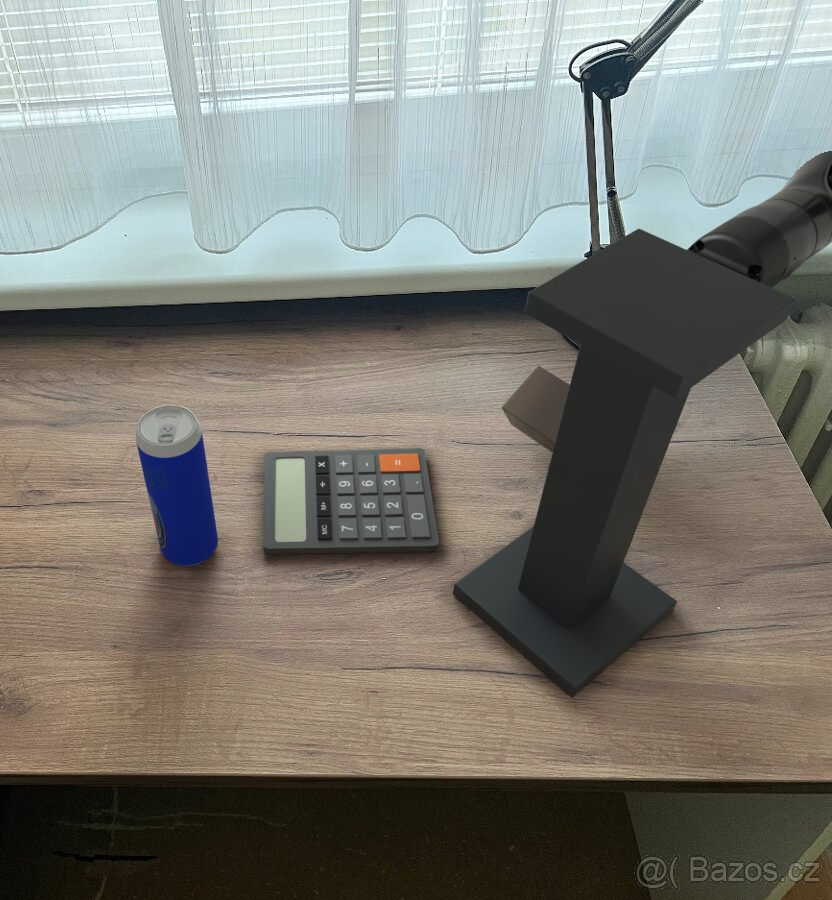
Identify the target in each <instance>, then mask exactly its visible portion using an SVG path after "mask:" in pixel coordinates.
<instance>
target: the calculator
mask: <svg viewBox="0 0 832 900" xmlns="http://www.w3.org/2000/svg"><path fill="white" fill-rule="evenodd" d="M427 464H428V463H427V457H426V452H425V449H423V448H420V447H416V448H413V447H412V448H377V449H375V448H373V449H372V448H371V449H342V450H341V449H340V450H339V449H337V450H302V451H301V450H300V451H269V452H265V455H264V486H263V488H264V489H263V490H264V491H263V492H264V494H263V531H262V540H263V541H262V547H263V549H262V550H263V553H264V554H267V555H271V554H272V555H273V554H274V555H276V554H277V555H278V554H282V555H283V554H343V553H345V554H347V553H350V554H351V553H407V552H409V553H411V552H437V551H438V549H439V543H440V541H439V534H438V527H437V522H436V517H435V515H436V514H435V509H434V503H433V496H432V490H431V483H430V478H429V477H430V476H429V471H428V465H427Z"/></svg>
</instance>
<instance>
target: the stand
mask: <svg viewBox="0 0 832 900" xmlns="http://www.w3.org/2000/svg"><path fill="white" fill-rule="evenodd" d="M795 302H796V298H795V297H793V296H790V295H788V294H786V293H784V292H781V291H780V290H777V289H775V288H773V287H772V288H770V287H768V286H766V285H764V284H761V283H759V282H757V281H755V280H753V279H750V278H748V277H746V276H744V275H741V274H739V273H737V272H735V271H733V270H730V269H728V268H726V267H724V266H721V265H719V264H717V263H715V262H713V261H710V260H708V259H706V258H704V257H701V256H699V255H697V254H695V253H693V252H690V251H688V250H687V248H684V247H682V246H679V245H677V244H674V243H673V242H671V241H668V240H666V239H664V238H662V237H659V236H657V235H656V234H652V233H650V232H648V231H646V230H644V229H641V228H636V229H634V230H633V231H632V232H630V233H628V234H627V235H625V236H623V237H621V238H620V239H618V240H615V242H613V243H611V244H609V245H607V246H606V247H604V248H602V249H600V250H598V251H597V252H595V253H594V254H592V255H590V256H589V257H586V258H585V259H583V260H581V261H580V262H578V263H576V264H574V265H573V266H571V267H569V268H568V269H566V270H564V271H563V272H561V273H559V274H557V275H556V276H554V277H552V278H551V279H549V280H547V281H546V282H544V283H542V284H541V285H539V286H537V287H535V288H533V289H531V290H530V291H528V293H527V299H526V304H525V308H524V314H526V315H527V316H529V317H531V318H533V319H535V320H536V321H538V322H540V323H541V324H543V325H545V326H547V327H549V328H550V329H552V330H554V331H556V332H557V333H559V334H561V335H562V336H564V337H566V338H567V339H570V340H572V341H573V342H575V343H576V344H579V348H578V352H577V357H576V360H575V363H574V367H573V372H572V376H571V379H570V381H571V383H570V387H569V391H568V395H567V399H566V402H565V406H564V410H563V414H562V418H561V422H560V426H559V430H558V434H557V438H556V441H555V445H554V449H553V453H552V452H551V456H550V457H551V458H550V461H549V465H548V469H547V472H546V476H545V480H544V484H543V489H542V492H541V495H540V500H539V505H538V508H537V513H536V516H535V520H534V523H533V526H531V527H530V528H529V529H528V530H526V531H525V532H523V533H522V534H521V535H519V536H518V537H517V538H515V539H513V540H512V541H511V542H510V543H508V544H507V545H505V546H504V547H503V548H502V549H500V550H499V551H497V552H496V553H494V554H493V555H492V556H490V557H489V558H488V559H486V560H485V561H483V562H482V563H481V564H479V565H478V566H476V567H475V568H474V569H472V570H471V571H470V572H469V573H467V574H466V575H464V576H462V577H461V578H459V580H457V581H456V582H454V584H453V589H452V595H453V596H454V597H455V598H456V599H457V600H458V601H460V602H461V603H462V604H463V605H464V606H465V607H467V608H468V609H469V610H470V611H471V612H472V613H474V614H475V616H477V617H478V618H479V619H481V620H482V621H483V622H484V623H485V624H486V625H487V626H488V627H489V628H490V629H492V631H494V632H495V633H496V634H498V635H499V636H500V637H501V638H502V639H503V640H505V641H506V642H507V643H508V644H509V645H510V646H511V647H513V648H514V649H515V650H516V651H517V652H518V653H520V655H522V656H523V657H524V658H525V659H526V660H527V661H528V662H530V663H531V664H532V665H533V666H534V667H535V668H537V669H538V670H539V671H540V672H541V673H543V675H545V676H546V677H547V678H548V679H549V680H550V681H552V682H553V683H554V684H555V685H556V686H557V687H558V688H559V689H561V691H563V692H564V693H565V694H566V695H568V696H569V697H570V698H571V699H572V698H574V697H575V696H576V695H577V694H579V693H580V692H581V691H582V690H583V689H585V687H587V686H588V685H589V684H590V683H592V682H593V681H594V680H595V679H596V678H597V677H598V676H599V675H601V674H602V673H604V671H605V670H607V669H608V668H609V667H610V666H612V665H613V664H614V663H615V662H616V661H617V660H618V659H620V657H622V656H623V655H624V654H625V653H627V652H628V651H629V650H630V649H631V648H632V647H633V646H635V645H636V644H637V643H638V642H639V641H640V640H642V639H643V638H645V636H647V635H648V634H649V633H650V632H651V631H653V630H654V629H655V628H656V627H657V626H658V625H659V624H660V623H662V622H663V621H664V620H665V619H666V618H667V617H669V616H670V615H671V614H672V613H673V612H674V610H675V608H676V607H677V604H678V601H677V600H676V599H675V598H673V597H672V596H671V595H669V593H667V592H665V591H664V590H663V589H661V588H660V587H658V585H655V584H654V583H653V582H651V581H650V580H649V579H647V578H646V577H644V576H643V575H641V574H640V573H639V572H638V571H636V570H635V569H634V568H632V567H631V566H629V565H628V564H627V563H625V560H626V556H627V554H628V552H629V549H630V546H631V544H632V541H633V539H634V537H635V533H636V531H637V529H638V525H639V523H640V521H641V518H642V515H643V512H644V510H645V508H646V506H647V502H648V500H649V497H650V495H651V492H652V490H653V488H654V484H655V482H656V481H657V477H658V474H659V472H660V469H661V466H662V464H663V462H664V459H665V456H666V455H667V451H668V449H669V447H670V443H671V441H672V439H673V435H674V434H675V431H676V428H677V426H678V423H679V420H680V418H681V415H682V413H683V410H684V408H685V405H686V402H687V400H688V397H689V394H690V392H691V389H692V388H693V387H694V386H695V385H697V384H699V383H700V382H701V381H703V380H704V379H706V378H707V377H708V376H710V375H711V374H713V373H714V372H716V370H719V369H720V368H721V367H722V366H724V365H725V364H726V363H728V362H729V361H731V360H732V359H734V358H735V357H736V356H739V354H741V353H742V352H743V351H745V350H746V349H748V348H749V347H751V346H752V345H754V344H755V343H757V342H758V341H759V340H760V339H762V338H763V337H765V336H766V335H767V334H769V333H770V332H772V331H774V329H776V328H777V327H779V326H780V325H782V324H783V323H784V322H786V321H787V319H788V317H789V315H790V313H791V311H792V308H793V306H794V304H795Z"/></svg>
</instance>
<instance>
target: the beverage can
mask: <svg viewBox="0 0 832 900" xmlns="http://www.w3.org/2000/svg"><path fill="white" fill-rule="evenodd" d="M136 425H137V426H136V433H135V443H136V447H137V451H138V456H139V457H138V458H139V460H140V465H141V468H142V469H141V470H142V473H143V478H144V483H145V488H146V492H147V496H148V500H149V505H150V510H151V513H152V518H153V522H154V527H155V532H156V537H157V541H158V545H159V549H160V552H161V555H162V556H163V557H164V558H165V559H166V560H167V561H168V562H170V563H172V564H175V565H178V566H181V567H195V566H197V565H200V564H202V563H204V562H205V561H207V560H208V559H209V558H211V556H213V554H215V551H216V550H217V548H218V543H219V536H218V530H217V522H216V516H215V510H214V509H215V508H214V502H213V496H212V488H211V483H210V482H211V481H210V476H209V469H208V462H207V455H206V448H205V442H204V435H203V428H202V425H201V423H200V421H199V419H198V418H197V417H196V415H195V413H194V412H193V411H192V410H190V408H187V407H184V406H182V405H179V404H165V405H160V406H156V407H154V408H151V409H149V410H148V411H147V412H145V413H144V414H143V415H142V416H141V417H140V419H139V420H138V422H137V424H136Z"/></svg>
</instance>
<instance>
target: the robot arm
mask: <svg viewBox="0 0 832 900" xmlns="http://www.w3.org/2000/svg"><path fill="white" fill-rule="evenodd" d="M789 178H790V177H789ZM789 178H788V180H787V181H786V183H785V185H784V186H783V187H782V188H781V189H780V190H779V191H778V192H776V193H774V195H772V196H770V197H768V198H767V199H765V200H764V201H762V202H760V203H759V204H757V205H754V206H751V207H749V208H747V209H745V210H743V211H741V212H739V213H738V214H736V215H734V216H733V217H731V218H730V219H728V220H726V221H725V222H723V223H721V224H720V225H719V226H717V227H715V228H714V229H712V230H711V231H709V232H707V233H705V234H703V235H702V236H701V237H699V238H698V239H697V240H696V241H694V242H693V243H692V244H691V245H690V246H689V247H688V248H686V250H688V251H690V252H693V253H695V254H697V255H699V256H701V257H704V258H706V259H708V260H710V261H713V262H715V263H717V264H719V265H721V266H724V267H726V268H728V269H730V270H733V271H735V272H737V273H739V274H741V275H744V276H746V277H748V278H750V279H753V280H755V281H757V282H759V283H761V284H764V285H766V286H768V287H770V288H773V287H775V286H776V285H778V284H779V283H780V282H782V281H784V280H787V279H788V278H789V277H790V276H791V275H792V274H793V273H794V272H796V270H798V269H799V268H800V267H801V266H802V265H803V263H805V262H806V261H808V260H809V259H811V258H813V256H815V255H817V254H818V253H820V252H821V251H823V250H824V249H825V248H827V247H828V246H829V245H831V244H832V151H828V152H824V153H821V154H819V155H817V156H815V157H814V158H812V159H811V160H809V161H807V162H806V163H805V164H804V165H803V166H802V167H800V169H798V170H797V171H796V172H795V173H794V175H793V176H792V177H791V178H790V179H789Z"/></svg>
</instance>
